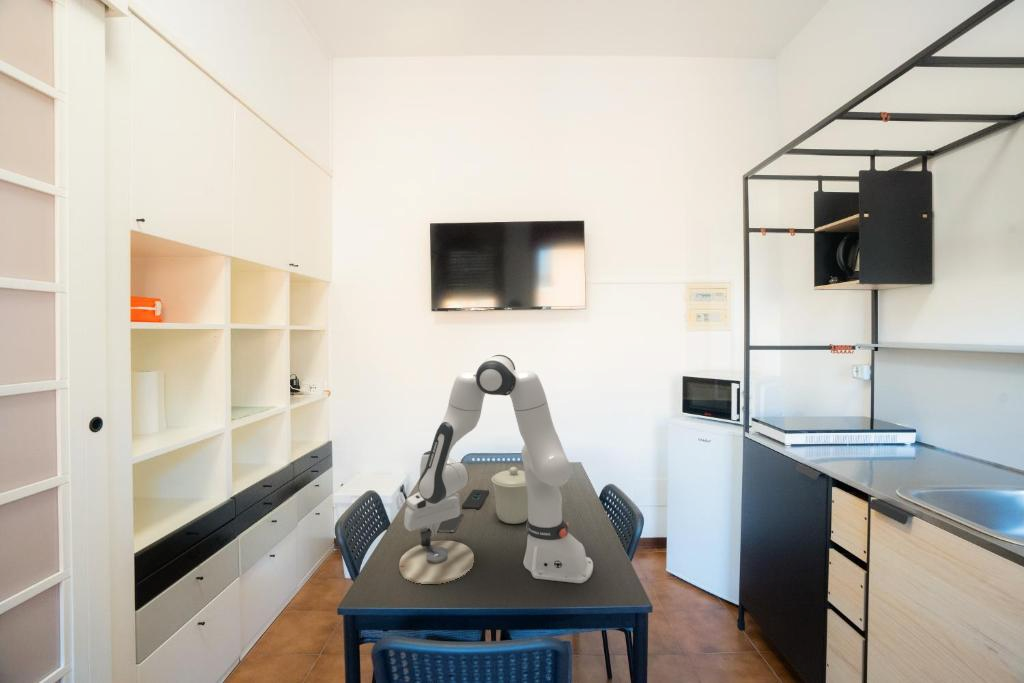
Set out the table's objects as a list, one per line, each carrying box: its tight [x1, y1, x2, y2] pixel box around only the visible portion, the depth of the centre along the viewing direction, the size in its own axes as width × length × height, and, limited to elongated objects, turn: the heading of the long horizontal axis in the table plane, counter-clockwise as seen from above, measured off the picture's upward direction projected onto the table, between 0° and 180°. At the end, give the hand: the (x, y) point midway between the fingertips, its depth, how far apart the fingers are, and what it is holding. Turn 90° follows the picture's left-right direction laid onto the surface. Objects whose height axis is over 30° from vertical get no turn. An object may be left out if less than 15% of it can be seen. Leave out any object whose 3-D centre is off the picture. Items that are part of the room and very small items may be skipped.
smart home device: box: [461, 489, 490, 511], centre depth 188 cm, size 8×2×20 cm
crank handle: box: [419, 527, 448, 564], centre depth 139 cm, size 14×7×6 cm, turn 36°
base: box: [398, 540, 475, 585], centre depth 136 cm, size 24×24×2 cm
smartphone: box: [437, 513, 465, 533], centre depth 165 cm, size 7×1×16 cm
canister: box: [490, 466, 528, 525], centre depth 169 cm, size 18×18×21 cm
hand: (433, 535), depth 145 cm, fingers closed
